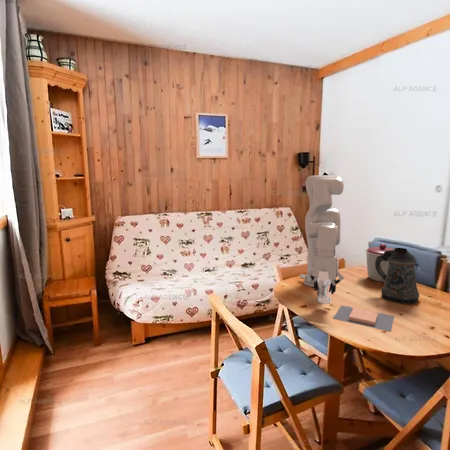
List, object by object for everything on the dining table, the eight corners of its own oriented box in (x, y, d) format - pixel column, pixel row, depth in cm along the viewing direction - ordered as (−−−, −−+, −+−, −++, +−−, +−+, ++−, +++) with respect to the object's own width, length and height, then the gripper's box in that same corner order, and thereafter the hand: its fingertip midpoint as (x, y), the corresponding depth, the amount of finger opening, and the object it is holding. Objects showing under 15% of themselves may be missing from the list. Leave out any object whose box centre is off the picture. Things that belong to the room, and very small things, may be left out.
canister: (404, 284, 178) (407, 247, 174) (371, 284, 178) (374, 247, 174) (388, 274, 195) (391, 240, 192) (358, 274, 196) (360, 240, 192)
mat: (332, 319, 136) (332, 318, 136) (341, 306, 150) (341, 305, 150) (390, 332, 125) (390, 331, 125) (394, 317, 138) (394, 316, 138)
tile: (353, 311, 143) (348, 319, 135) (353, 307, 143) (348, 316, 134) (377, 316, 138) (374, 325, 130) (378, 312, 138) (375, 322, 129)
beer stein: (424, 306, 149) (429, 254, 145) (379, 303, 153) (383, 252, 149) (411, 293, 165) (415, 245, 161) (371, 290, 169) (374, 244, 165)
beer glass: (313, 298, 148) (314, 267, 146) (328, 298, 149) (329, 266, 146) (319, 304, 141) (320, 271, 139) (334, 304, 142) (336, 271, 140)
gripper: (304, 252, 143) (302, 290, 146) (344, 257, 134) (342, 298, 137) (309, 249, 149) (308, 285, 152) (348, 253, 140) (346, 292, 143)
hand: (324, 291), depth 144 cm, fingers closed on beer glass, 6 cm apart
